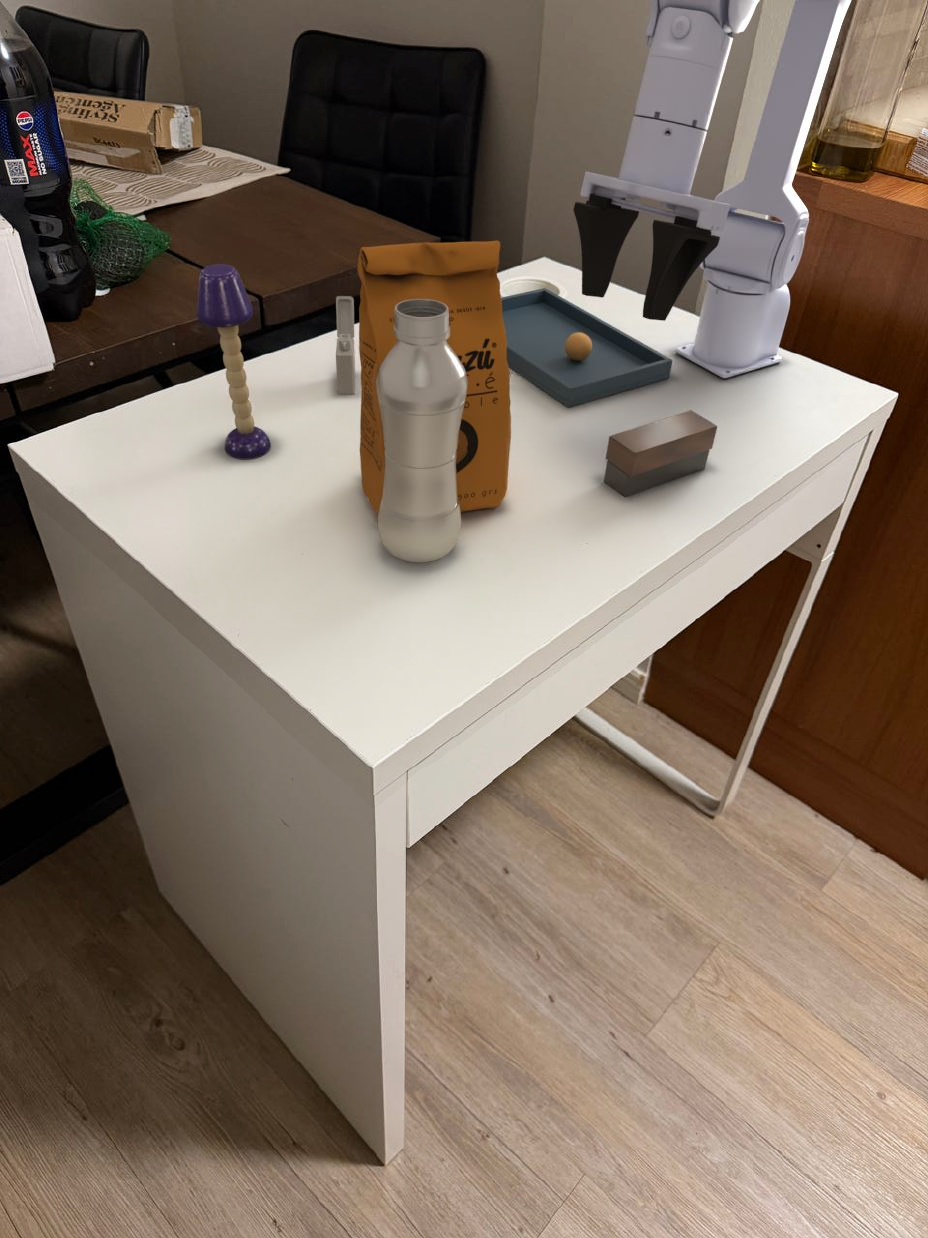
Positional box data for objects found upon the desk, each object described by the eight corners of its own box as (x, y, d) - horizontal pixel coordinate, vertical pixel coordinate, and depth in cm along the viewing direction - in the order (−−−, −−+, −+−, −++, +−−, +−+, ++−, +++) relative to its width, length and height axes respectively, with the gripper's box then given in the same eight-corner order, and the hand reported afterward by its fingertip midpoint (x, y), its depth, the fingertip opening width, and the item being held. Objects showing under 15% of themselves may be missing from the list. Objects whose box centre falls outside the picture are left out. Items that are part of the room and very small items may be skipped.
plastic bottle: (378, 528, 77) (371, 290, 65) (458, 526, 78) (466, 291, 65) (378, 573, 72) (371, 326, 60) (464, 572, 73) (474, 326, 60)
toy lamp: (226, 464, 84) (199, 282, 73) (212, 440, 87) (184, 263, 76) (277, 453, 86) (257, 274, 75) (261, 430, 89) (240, 255, 78)
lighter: (354, 394, 95) (351, 319, 90) (337, 394, 95) (333, 319, 90) (356, 364, 101) (353, 291, 95) (340, 363, 100) (336, 291, 95)
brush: (681, 452, 89) (691, 409, 86) (707, 469, 87) (718, 425, 84) (601, 480, 84) (608, 435, 81) (626, 498, 82) (634, 453, 79)
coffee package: (513, 522, 79) (537, 263, 64) (369, 533, 77) (360, 268, 62) (489, 462, 86) (506, 217, 72) (357, 470, 84) (346, 220, 70)
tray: (543, 304, 116) (545, 287, 114) (669, 377, 101) (673, 359, 100) (448, 325, 109) (448, 308, 108) (567, 407, 95) (570, 388, 94)
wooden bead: (578, 351, 104) (582, 325, 102) (595, 361, 102) (599, 335, 100) (557, 357, 103) (560, 331, 101) (574, 367, 101) (577, 341, 99)
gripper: (570, 104, 73) (532, 282, 79) (704, 125, 63) (648, 327, 69) (634, 120, 77) (592, 288, 83) (769, 143, 67) (710, 332, 73)
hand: (622, 306), depth 76 cm, fingers open, 7 cm apart
